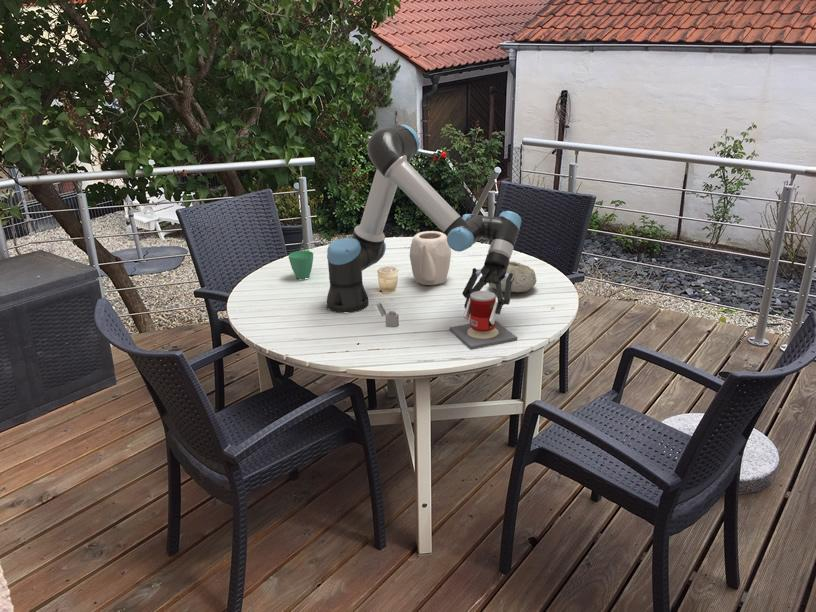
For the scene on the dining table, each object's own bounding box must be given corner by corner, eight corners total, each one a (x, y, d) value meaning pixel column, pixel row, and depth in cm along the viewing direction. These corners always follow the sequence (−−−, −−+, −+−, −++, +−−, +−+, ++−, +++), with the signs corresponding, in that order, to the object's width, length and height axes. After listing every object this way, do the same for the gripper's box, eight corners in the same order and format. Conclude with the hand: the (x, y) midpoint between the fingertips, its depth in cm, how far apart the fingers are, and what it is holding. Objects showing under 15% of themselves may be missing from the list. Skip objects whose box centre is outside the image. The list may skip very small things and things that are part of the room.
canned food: (494, 332, 213) (494, 299, 209) (468, 331, 215) (468, 298, 211) (496, 322, 220) (496, 291, 216) (471, 321, 222) (471, 290, 218)
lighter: (399, 325, 228) (398, 303, 225) (397, 327, 227) (396, 305, 224) (378, 324, 230) (377, 302, 227) (377, 326, 228) (375, 304, 225)
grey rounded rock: (533, 281, 263) (534, 256, 259) (538, 298, 246) (539, 272, 243) (486, 282, 264) (486, 257, 261) (488, 299, 248) (488, 272, 244)
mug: (312, 282, 271) (309, 258, 268) (288, 282, 272) (285, 258, 269) (320, 270, 285) (318, 247, 281) (297, 270, 286) (295, 247, 282)
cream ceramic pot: (404, 294, 255) (402, 245, 248) (416, 270, 280) (415, 226, 273) (445, 295, 253) (445, 246, 245) (454, 271, 277) (454, 226, 270)
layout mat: (470, 349, 209) (470, 346, 209) (449, 330, 223) (449, 327, 223) (517, 340, 214) (517, 336, 214) (493, 321, 228) (493, 318, 228)
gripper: (532, 265, 219) (512, 330, 212) (472, 258, 228) (452, 319, 221) (526, 254, 212) (506, 321, 206) (465, 247, 222) (444, 310, 215)
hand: (478, 320), depth 213 cm, fingers closed on canned food, 8 cm apart
